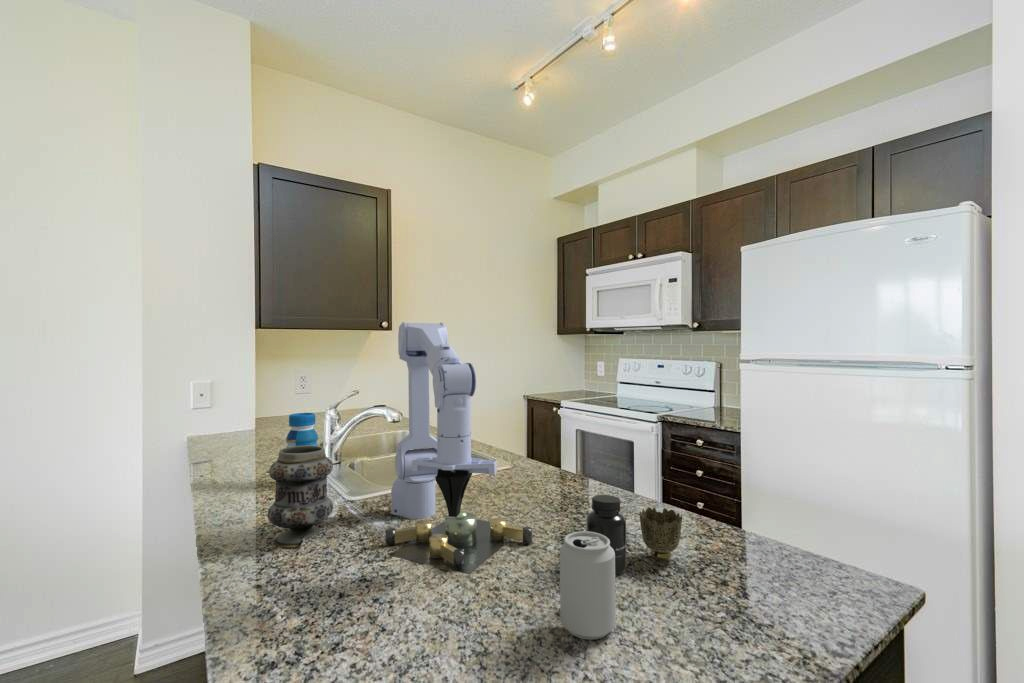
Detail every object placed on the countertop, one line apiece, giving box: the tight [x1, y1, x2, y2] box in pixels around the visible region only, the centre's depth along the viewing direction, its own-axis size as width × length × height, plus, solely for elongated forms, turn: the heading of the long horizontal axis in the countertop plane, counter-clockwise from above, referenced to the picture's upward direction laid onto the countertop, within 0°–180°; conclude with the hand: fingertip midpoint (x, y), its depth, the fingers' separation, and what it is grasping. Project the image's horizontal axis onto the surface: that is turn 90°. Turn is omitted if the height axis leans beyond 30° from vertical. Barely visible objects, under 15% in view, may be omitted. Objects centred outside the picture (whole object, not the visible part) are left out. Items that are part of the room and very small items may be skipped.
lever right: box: [489, 517, 533, 544], centre depth 91 cm, size 9×3×3 cm, turn 64°
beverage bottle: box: [285, 412, 319, 448], centre depth 132 cm, size 8×8×20 cm
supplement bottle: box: [585, 494, 627, 577], centre depth 82 cm, size 7×7×12 cm
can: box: [559, 530, 617, 641], centre depth 65 cm, size 8×8×12 cm
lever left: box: [385, 519, 433, 546], centre depth 90 cm, size 9×3×3 cm, turn 110°
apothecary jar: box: [267, 445, 334, 549], centre depth 96 cm, size 12×12×18 cm
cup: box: [638, 507, 683, 562], centre depth 86 cm, size 8×7×8 cm
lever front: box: [430, 534, 464, 568], centre depth 82 cm, size 9×3×3 cm, turn 42°
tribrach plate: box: [388, 510, 525, 575], centre depth 91 cm, size 17×22×6 cm
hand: (454, 514), depth 80 cm, fingers closed
